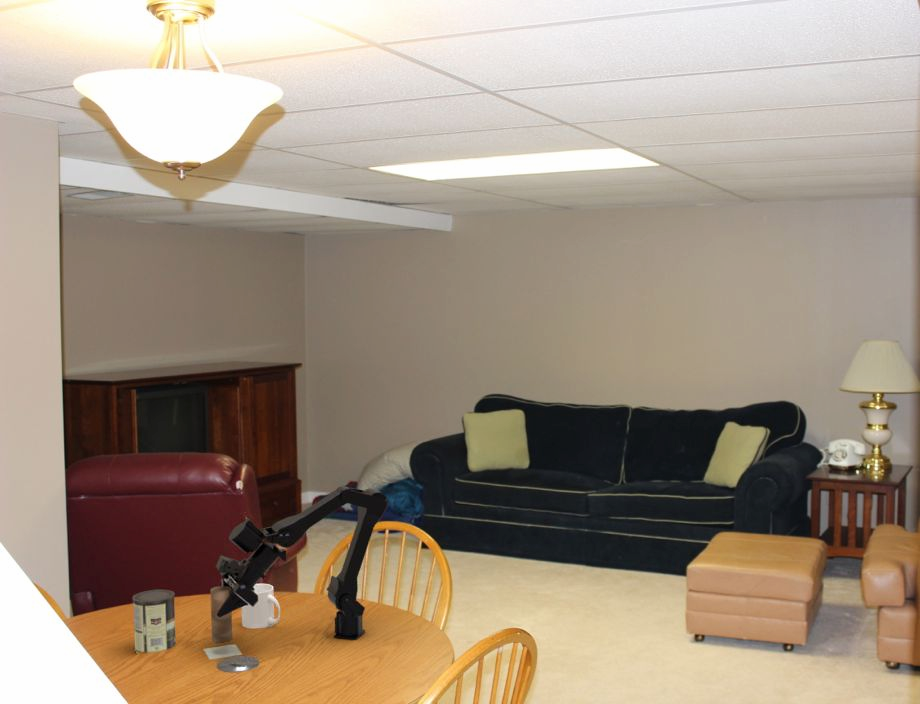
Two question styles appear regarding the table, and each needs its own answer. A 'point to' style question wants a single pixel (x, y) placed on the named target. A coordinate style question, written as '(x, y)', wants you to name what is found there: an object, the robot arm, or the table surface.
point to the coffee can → (154, 620)
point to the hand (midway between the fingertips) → (215, 613)
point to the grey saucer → (238, 664)
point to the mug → (261, 609)
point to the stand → (222, 651)
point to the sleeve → (220, 624)
